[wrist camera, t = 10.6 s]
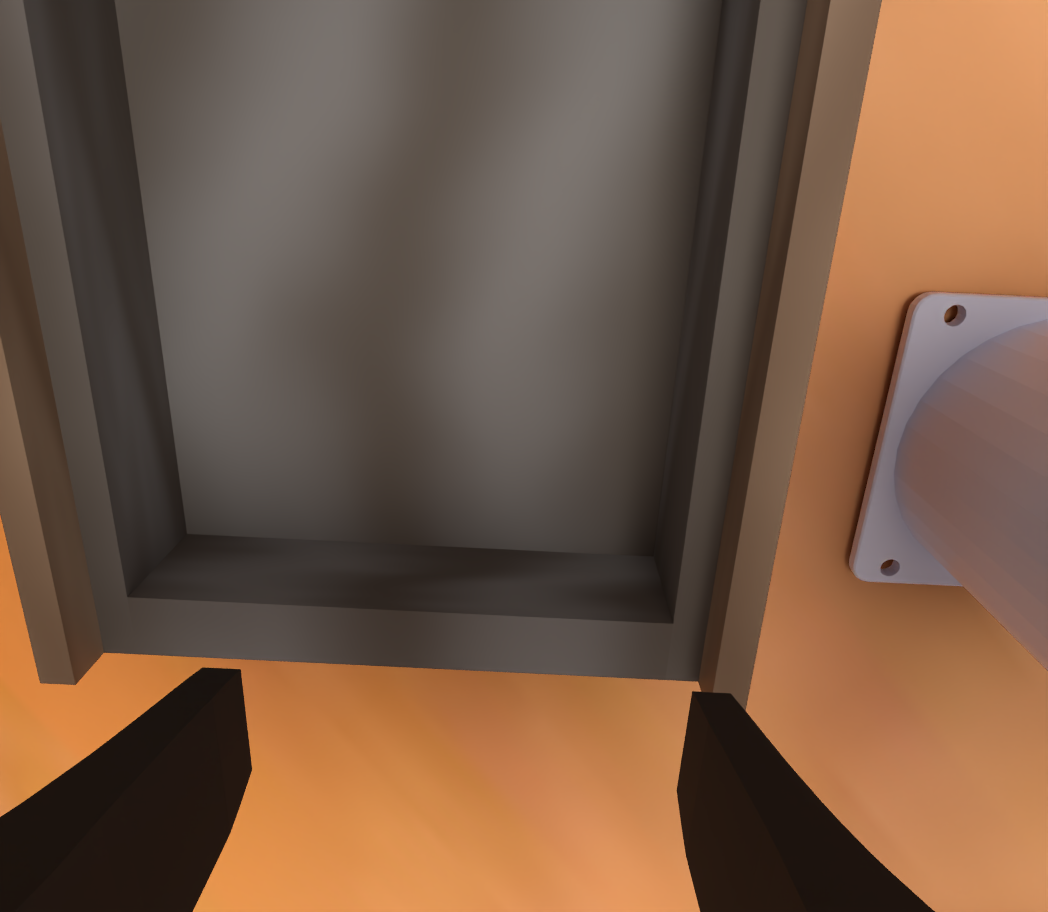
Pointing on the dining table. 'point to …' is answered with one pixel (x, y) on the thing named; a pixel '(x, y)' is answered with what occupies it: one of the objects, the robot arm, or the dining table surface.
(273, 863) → the dining table surface
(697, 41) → the slide box
